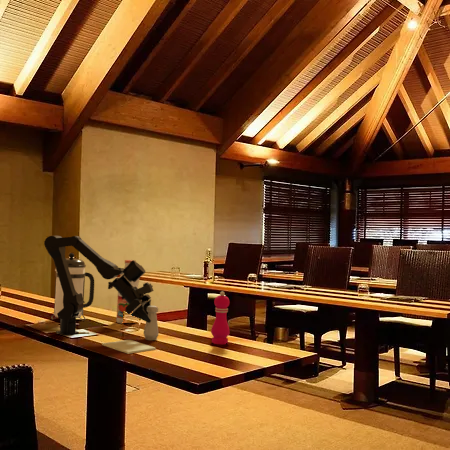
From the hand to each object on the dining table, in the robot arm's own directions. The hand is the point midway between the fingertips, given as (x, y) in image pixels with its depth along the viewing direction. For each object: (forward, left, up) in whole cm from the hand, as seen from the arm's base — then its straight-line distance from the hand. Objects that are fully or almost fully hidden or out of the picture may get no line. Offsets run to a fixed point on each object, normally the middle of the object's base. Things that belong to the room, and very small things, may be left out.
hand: (152, 320), depth 210 cm
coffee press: (-52, -5, -8) cm, 53 cm away
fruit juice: (-34, +13, -8) cm, 37 cm away
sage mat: (+6, -15, -7) cm, 18 cm away
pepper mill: (+19, +19, -8) cm, 27 cm away
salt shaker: (0, 0, -8) cm, 8 cm away
